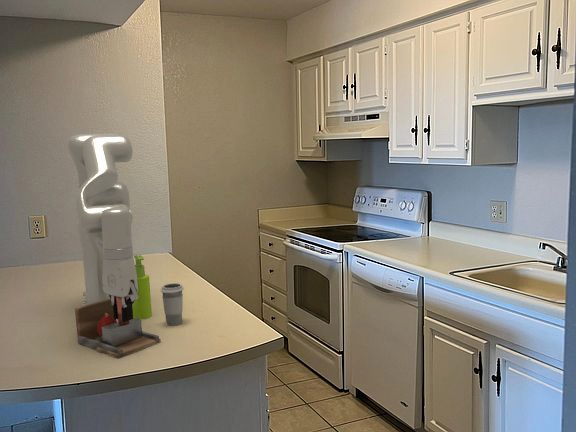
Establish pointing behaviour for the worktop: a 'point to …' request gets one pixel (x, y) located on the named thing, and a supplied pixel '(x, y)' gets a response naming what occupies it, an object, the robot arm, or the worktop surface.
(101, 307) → the frame
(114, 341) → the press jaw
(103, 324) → the onion
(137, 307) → the soap dispenser
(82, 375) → the worktop surface
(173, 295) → the cup
